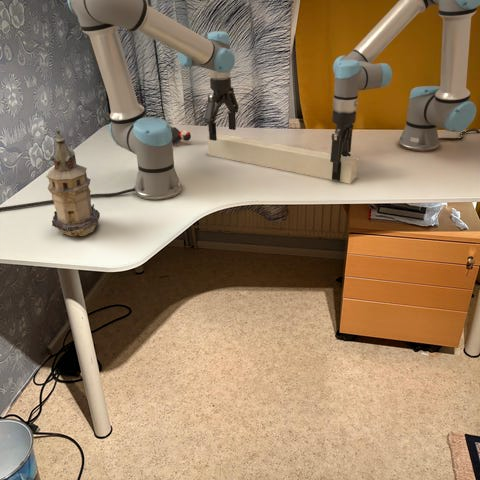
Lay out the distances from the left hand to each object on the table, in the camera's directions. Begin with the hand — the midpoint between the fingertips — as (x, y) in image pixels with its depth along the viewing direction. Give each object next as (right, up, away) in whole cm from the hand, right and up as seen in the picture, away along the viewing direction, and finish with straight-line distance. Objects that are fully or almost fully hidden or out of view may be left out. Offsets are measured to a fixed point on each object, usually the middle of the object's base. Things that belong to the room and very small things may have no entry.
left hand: (222, 134), depth 203 cm
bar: (+20, -13, -7) cm, 25 cm away
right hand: (+41, -18, -18) cm, 48 cm away
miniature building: (-40, -37, -48) cm, 73 cm away
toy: (-28, 0, +17) cm, 33 cm away
